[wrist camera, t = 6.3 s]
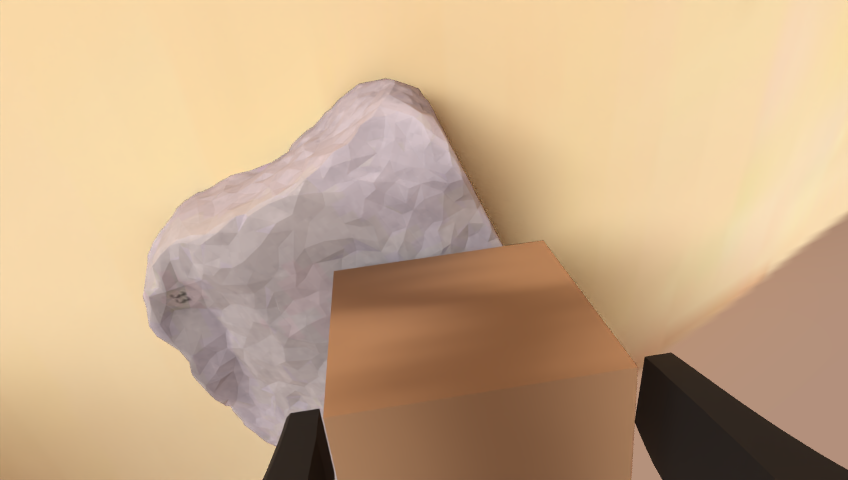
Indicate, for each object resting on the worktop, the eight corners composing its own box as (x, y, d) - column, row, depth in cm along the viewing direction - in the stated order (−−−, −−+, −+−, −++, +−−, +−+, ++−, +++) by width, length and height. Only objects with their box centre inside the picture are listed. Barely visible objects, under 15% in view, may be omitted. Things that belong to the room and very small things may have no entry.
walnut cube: (365, 434, 15) (370, 622, 11) (333, 270, 13) (323, 417, 9) (546, 405, 16) (625, 576, 11) (542, 240, 14) (637, 367, 9)
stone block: (347, 418, 23) (582, 342, 20) (323, 533, 19) (611, 459, 16) (144, 189, 18) (424, 37, 15) (52, 283, 14) (409, 102, 11)
